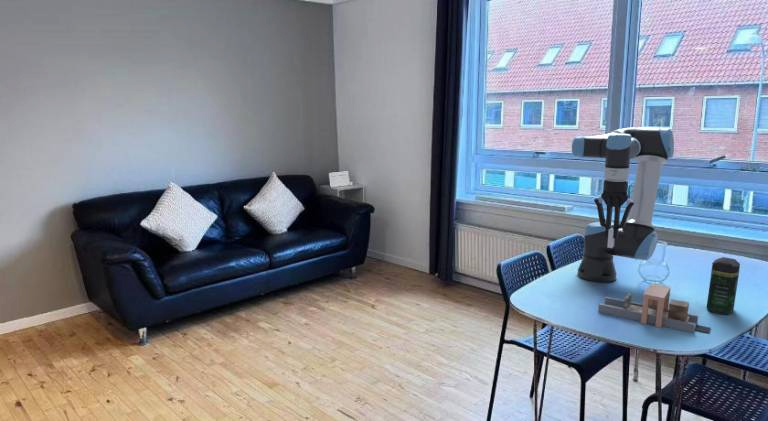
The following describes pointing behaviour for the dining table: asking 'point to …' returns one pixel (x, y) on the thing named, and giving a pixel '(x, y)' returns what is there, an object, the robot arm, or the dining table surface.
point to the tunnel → (655, 302)
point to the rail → (617, 309)
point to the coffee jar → (723, 285)
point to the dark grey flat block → (702, 329)
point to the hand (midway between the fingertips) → (610, 246)
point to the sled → (676, 311)
